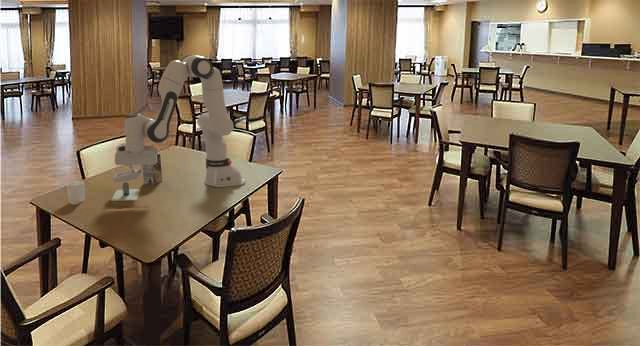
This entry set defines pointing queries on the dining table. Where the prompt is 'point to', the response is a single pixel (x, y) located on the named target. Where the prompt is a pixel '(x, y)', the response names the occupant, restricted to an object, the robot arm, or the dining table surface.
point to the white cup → (76, 192)
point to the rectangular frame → (126, 176)
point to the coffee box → (152, 172)
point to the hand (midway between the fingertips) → (137, 172)
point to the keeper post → (125, 189)
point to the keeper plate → (132, 196)
